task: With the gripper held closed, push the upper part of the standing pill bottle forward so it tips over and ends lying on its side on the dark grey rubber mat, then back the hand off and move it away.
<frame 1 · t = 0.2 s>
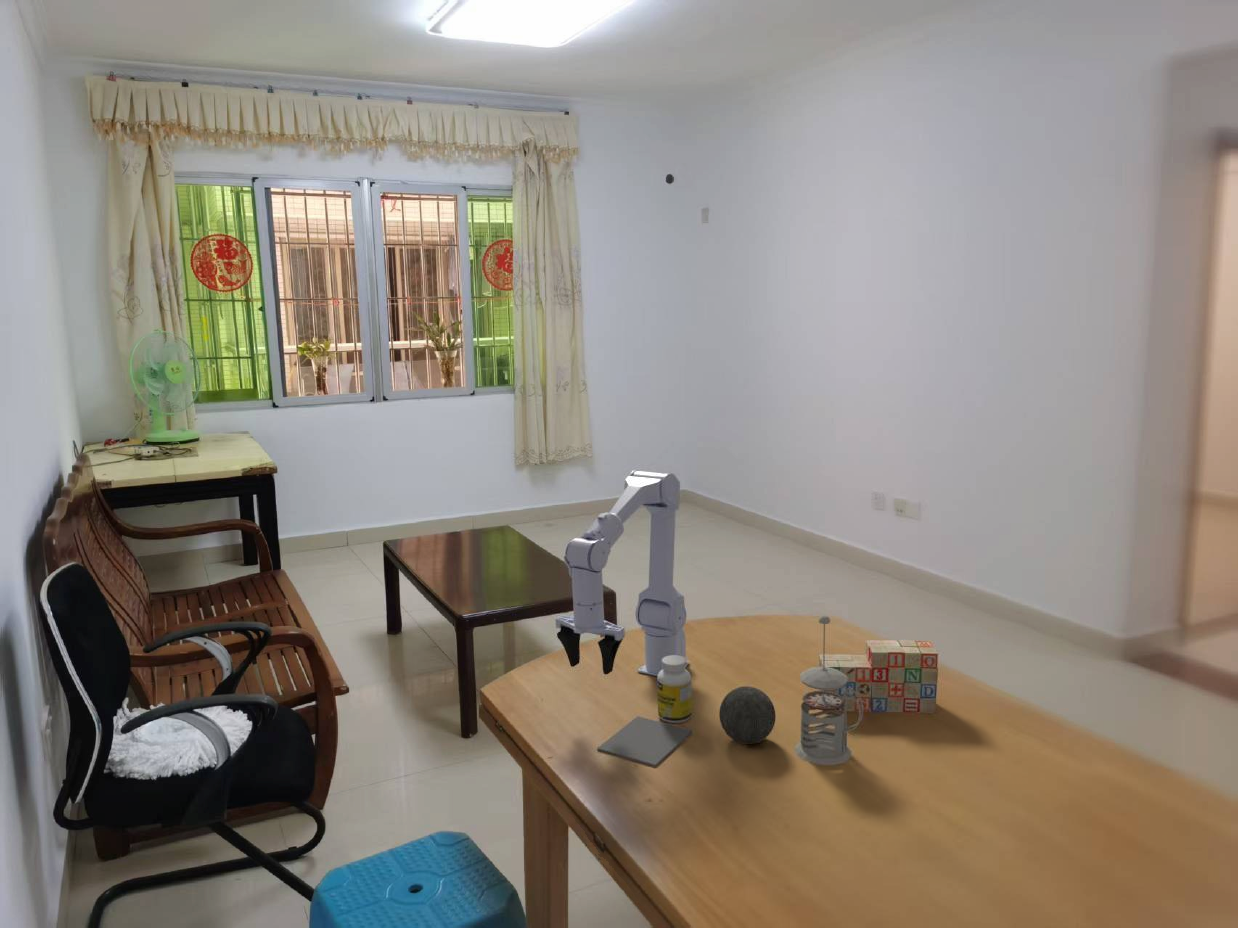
hand: (591, 668, 170), 10 cm above the table, tool pointing down, fingers open, 7 cm apart
decorative ball: (747, 741, 161), on the table
pill bottle: (675, 717, 171), on the table
stack of blocks: (875, 706, 173), on the table
mat: (646, 741, 162), on the table
french press: (828, 753, 156), on the table
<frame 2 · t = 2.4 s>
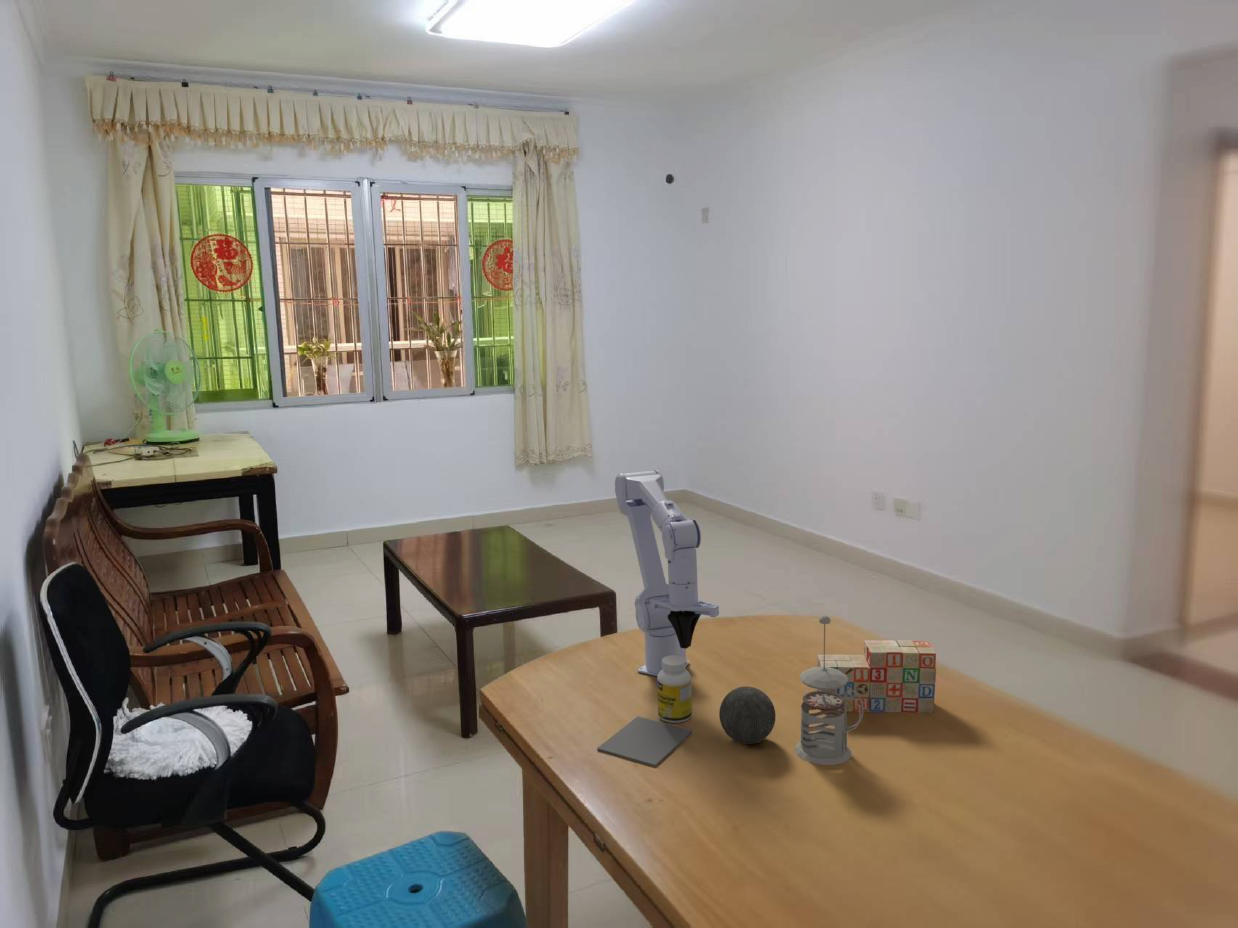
hand: (685, 646, 178), 10 cm above the table, tool pointing down, fingers closed
nothing on the table moved.
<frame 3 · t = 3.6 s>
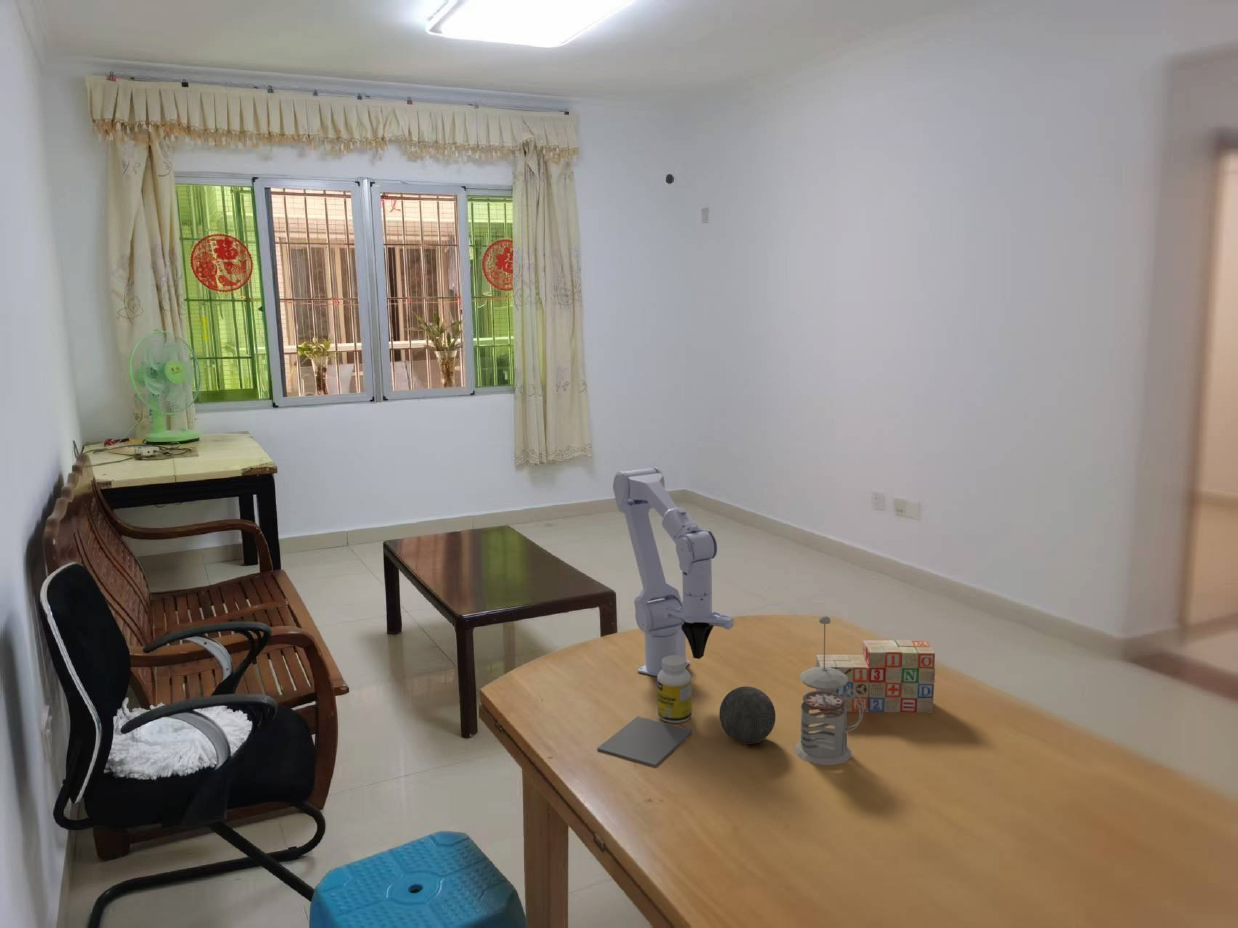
hand: (698, 656, 178), 8 cm above the table, tool pointing down, fingers closed
nothing on the table moved.
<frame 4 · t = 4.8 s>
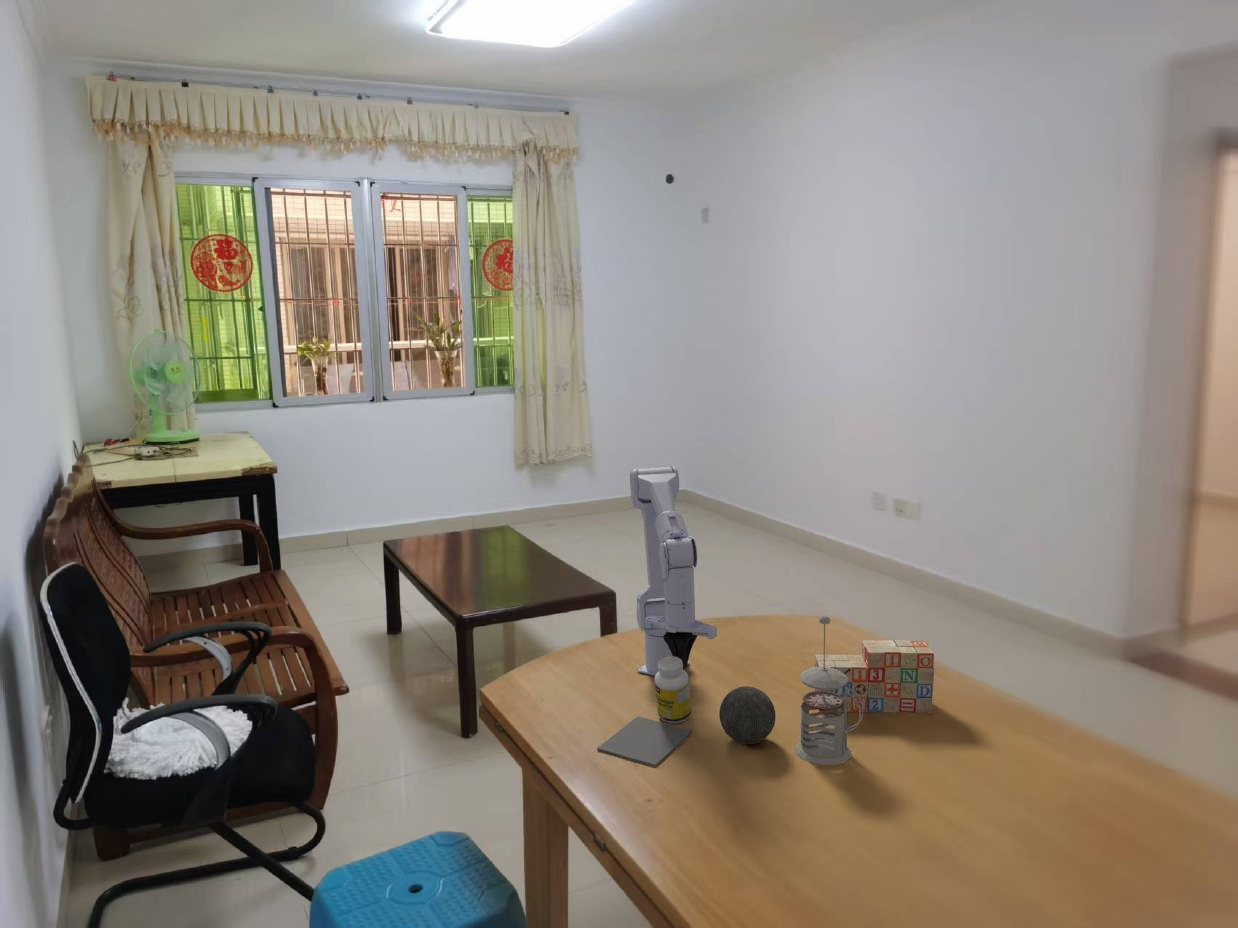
hand: (681, 668, 171), 9 cm above the table, tool pointing down, fingers closed, pressing on pill bottle
pill bottle: (675, 715, 171), on the table, touching gripper
everything else where it was.
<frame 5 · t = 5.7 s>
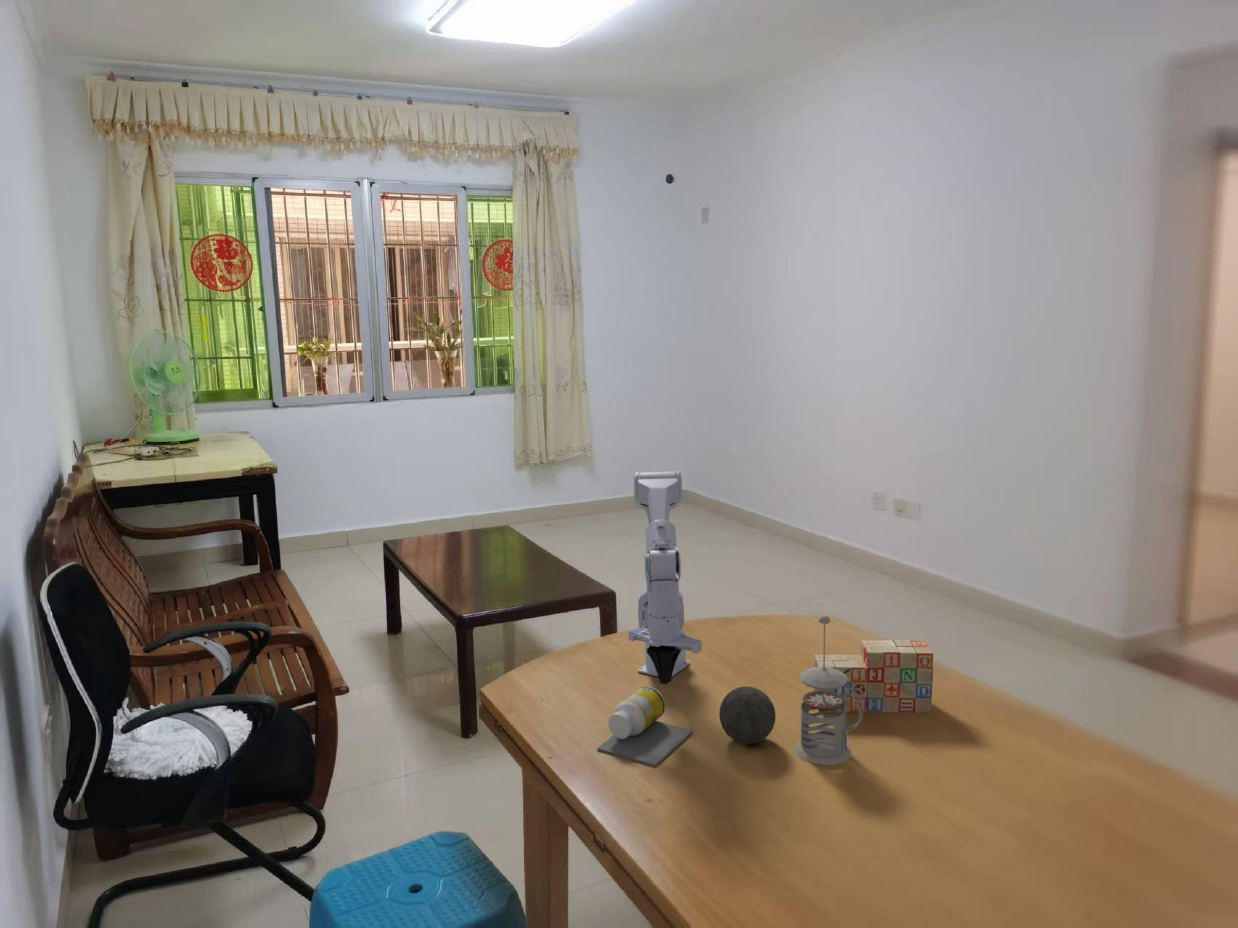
hand: (665, 681, 167), 8 cm above the table, tool pointing down, fingers closed
pill bottle: (652, 700, 170), point 4 cm above the table, touching mat
everything else where it was.
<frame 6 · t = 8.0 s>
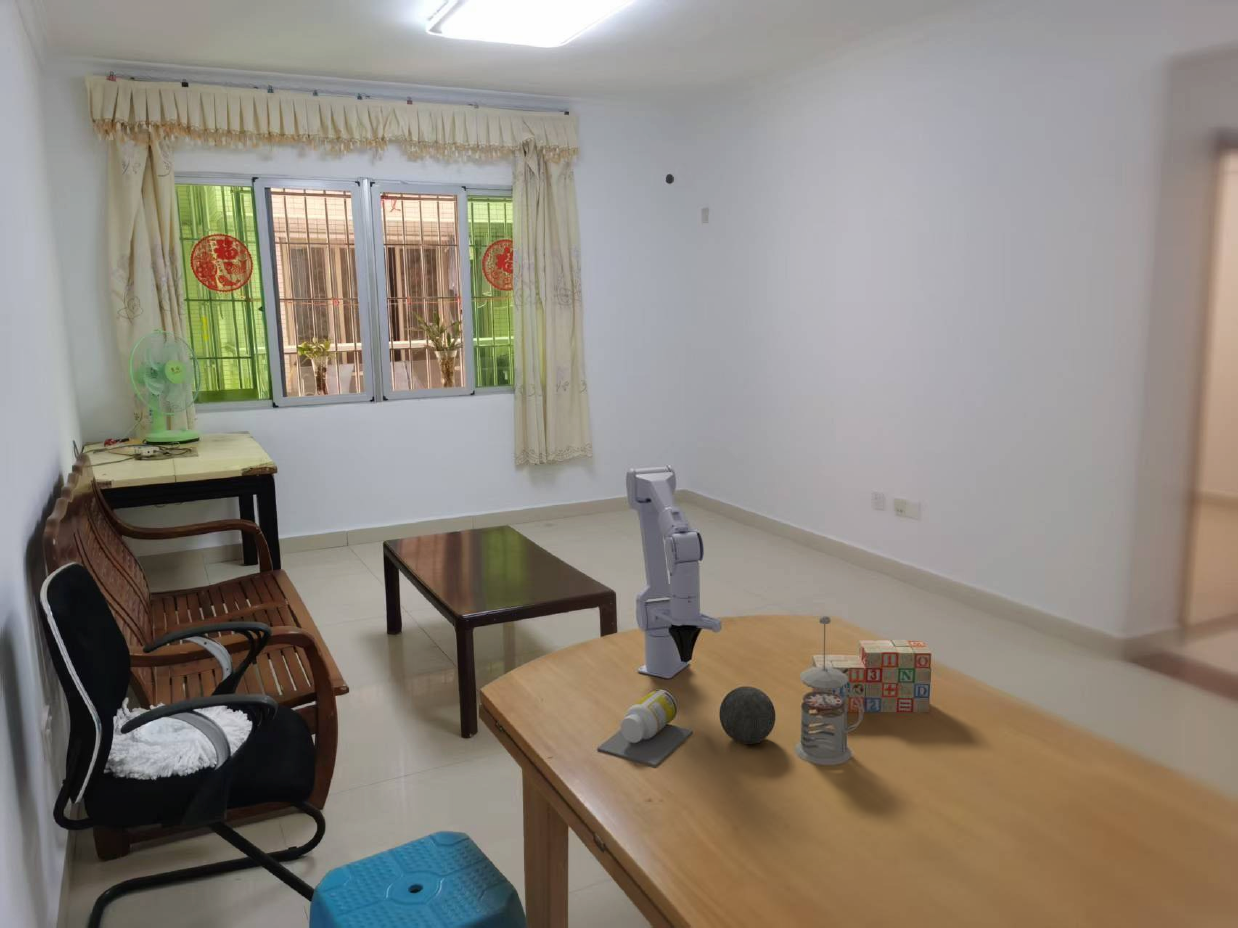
hand: (686, 660, 173), 10 cm above the table, tool pointing down, fingers closed
pill bottle: (664, 703, 168), point 4 cm above the table, touching mat
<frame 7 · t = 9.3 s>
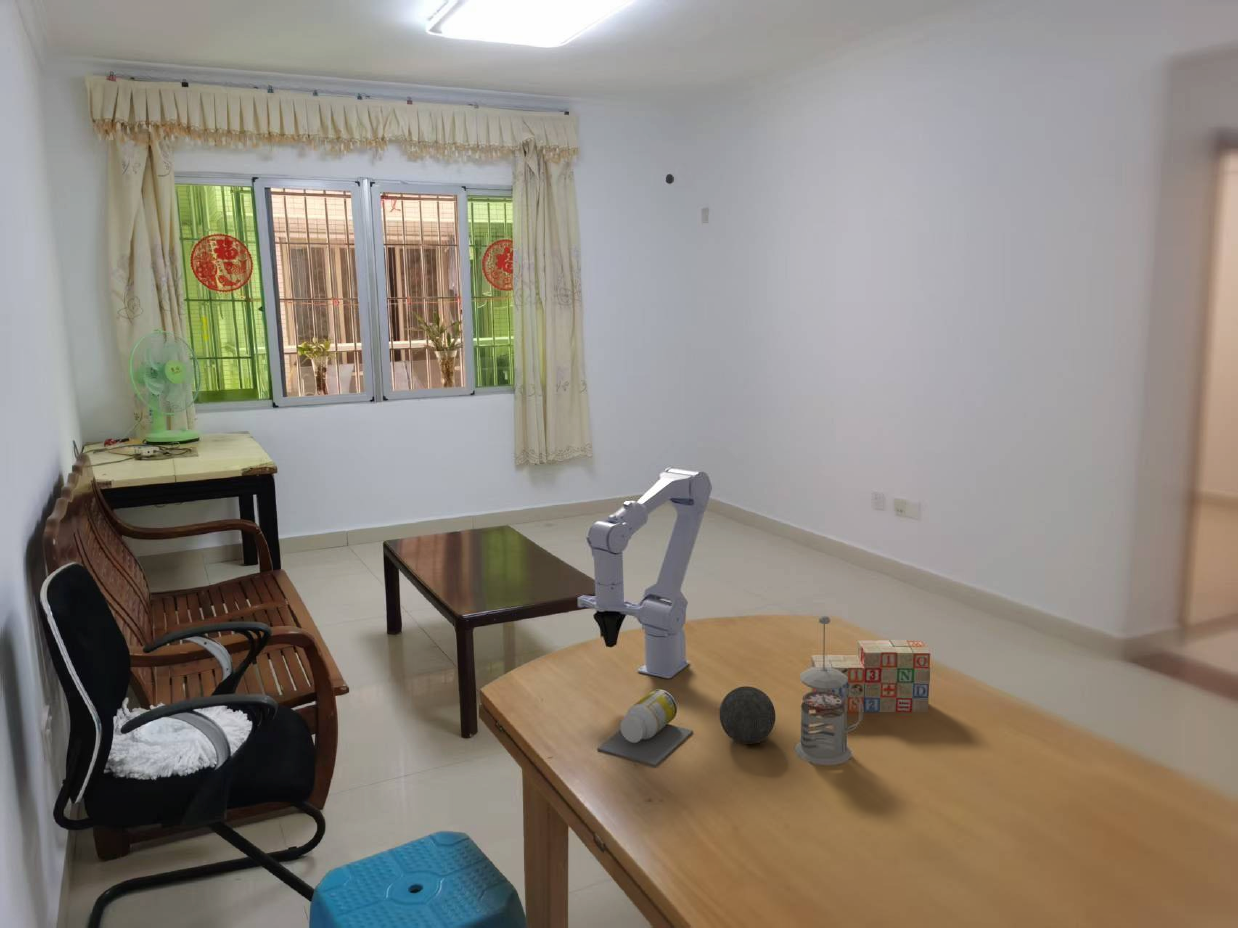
hand: (611, 645, 180), 10 cm above the table, tool pointing down, fingers closed
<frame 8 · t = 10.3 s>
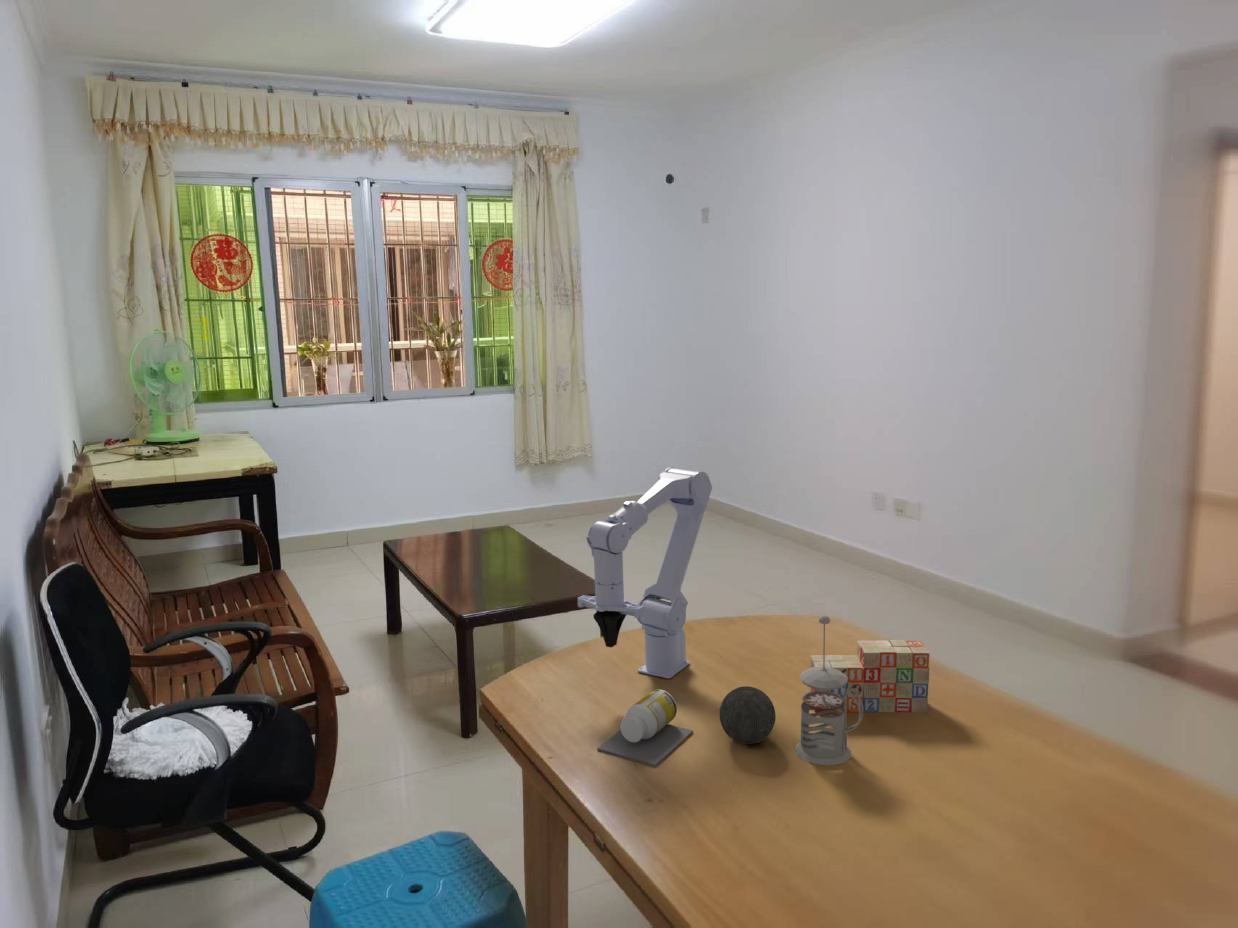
hand: (611, 645, 180), 10 cm above the table, tool pointing down, fingers closed
at the end: pill bottle tilted 90°; pill bottle touching mat; pill bottle inside the target area (3.3 cm from its centre), point 3.6 cm above the table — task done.
